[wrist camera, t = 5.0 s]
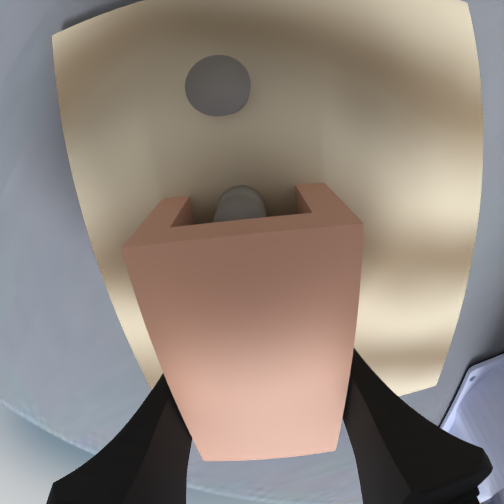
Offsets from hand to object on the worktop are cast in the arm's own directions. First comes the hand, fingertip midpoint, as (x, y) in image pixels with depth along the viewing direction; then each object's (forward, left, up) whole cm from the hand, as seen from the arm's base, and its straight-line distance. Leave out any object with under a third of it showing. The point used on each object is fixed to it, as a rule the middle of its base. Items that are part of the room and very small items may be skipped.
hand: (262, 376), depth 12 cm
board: (+4, -2, -3) cm, 5 cm away
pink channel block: (+2, 0, -2) cm, 3 cm away
